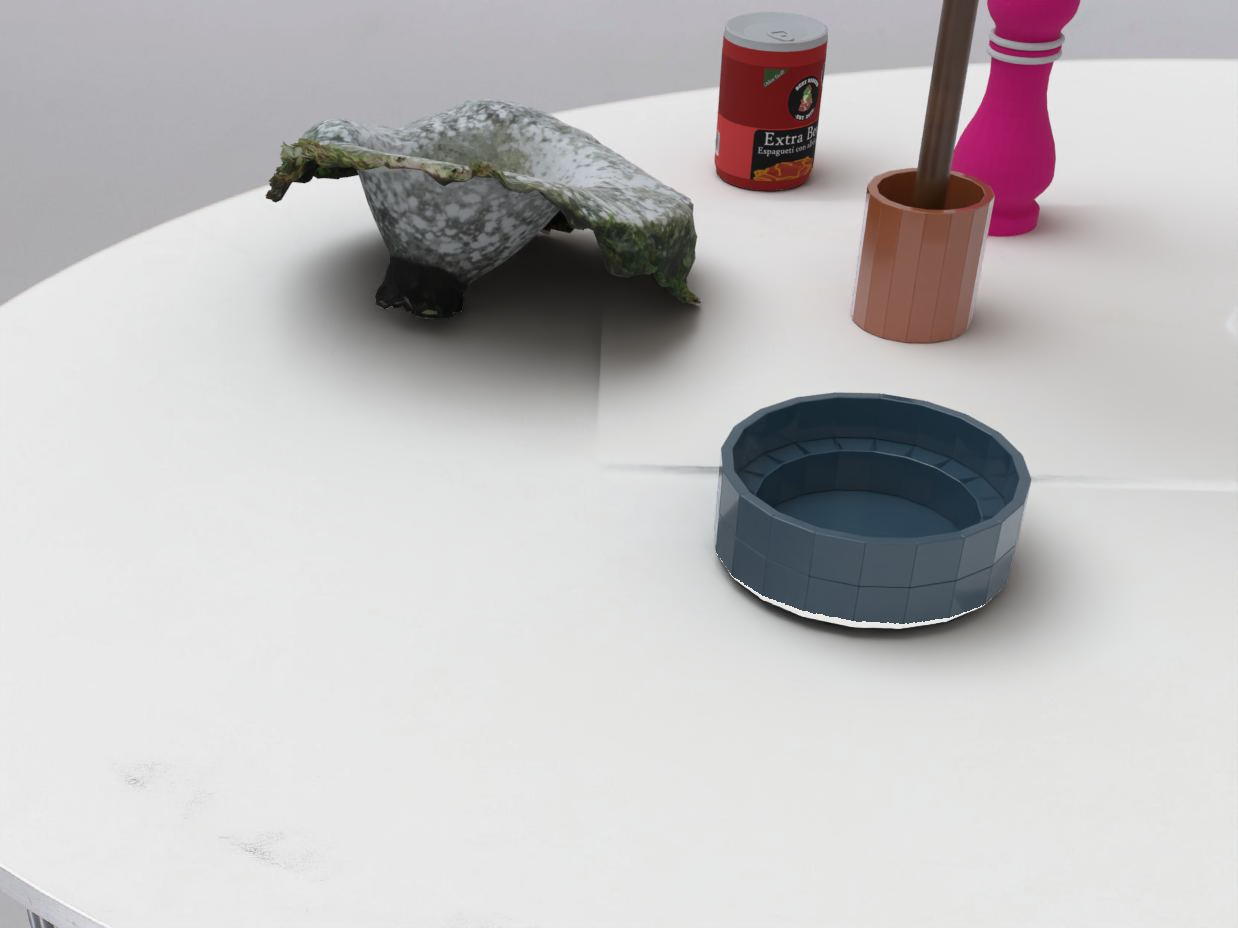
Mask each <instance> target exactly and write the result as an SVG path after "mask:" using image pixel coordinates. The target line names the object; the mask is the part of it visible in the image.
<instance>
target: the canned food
mask: <svg viewBox="0 0 1238 928" xmlns="http://www.w3.org/2000/svg"><path fill="white" fill-rule="evenodd" d="M828 31H829V28H828V26H827V25H826V24H825V23H823V22H822V21H821V20H818V19H816V18H813V17H811V16H808V15H803V14H798V13H792V12H783V11H759V12H750V13H749V12H748V13H745V14H741V15H738V16H735V17H732V18H730V19H729V20H727V22H726V23H725V24H724V30H723V36H722V48H721V60H720V61H721V62H720V73H719V75H720V76H719V91H718V105H717V117H716V119H717V121H716V133H715V134H716V135H715V145H714V146H715V148H714V166H715V170H716V173H717V176H719V178H720V179H721V180H722V181H724V182H726V183H727V184H729V185H731V186H735V187H738V188H741V189H744V190H745V189H746V190H751V191H763V192H777V191H785V190H790V189H794V188H797V187H800V186H801V185H803V184H804V183H806V182H807V181H808V180H809V178H810V177H811V174H812V171H813V169H814V165H815V156H816V148H817V139H818V132H819V131H818V130H819V123H820V122H819V121H820V114H821V105H822V95H823V86H824V79H825V72H826V71H825V69H826V61H827V50H828V42H829V35H828V33H829V32H828Z"/></svg>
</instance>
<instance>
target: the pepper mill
mask: <svg viewBox="0 0 1238 928" xmlns="http://www.w3.org/2000/svg"><path fill="white" fill-rule="evenodd" d="M986 5H987V11H988V13H989V16H990V18H991V19H992V21H993V23H994V27H993V28H991V29H990V31H989V32H988V38H989V41H988V44H987V45H986V48H985V50H986V53H987V54H988V55H989V56H990V68H989V76H988V80H987V84H986V87H985V88H986V89H985V91H984V95H983V97H982V100H981V102H980V105H979V106H978V108H977V110H976V112H975V113H974V115H973V116H972V118H971V119H970V121H969V122H968V123H967V125H966V127H965V128H964V130H963V131H962V133H961V134H960V136H959V138H958V141H957V143H956V144H955V148H954V154H953V160H952V166H951V171H956V172H960V173H963V174H966V175H969V176H972V177H975V178H977V179H980V180H981V181H983V182H984V183H986V184H987V185H989V186H990V187H991V188H992V191H993V193H994V195H995V198H994V203H993V209H992V214H991V220H990V225H989V231H988V236H987V237H998V238H999V237H1002V238H1004V237H1015V236H1022V235H1026V234H1028V233H1030V232H1032V231H1033V230H1035V229H1036V227H1037V225H1038V221H1039V217H1040V216H1039V215H1040V211H1041V207H1040V204H1039V203H1038V202H1037V200H1036V199H1037V198H1038V197H1039V196H1040V195H1041V194H1043V193H1045V191H1046V190H1047V189H1048V188H1049V187H1050V186H1051V184H1052V182H1053V180H1054V178H1055V171H1056V169H1055V168H1056V164H1057V163H1056V161H1057V155H1056V154H1057V153H1056V143H1055V138H1054V134H1053V129H1052V126H1051V120H1050V114H1049V109H1048V89H1049V82H1050V76H1051V73H1052V70H1053V66H1054V63H1055V61H1057V60H1060V58H1062V56H1063V49H1062V47H1063V44H1064V43H1065V41H1066V37H1065V34H1063V32H1062V30H1063V29H1064V27H1066V26H1067V25H1068V24H1069V23H1070V22H1071V21H1072V20H1073V19H1074V17H1075V16H1076V15H1077V12H1078V10H1079V7H1080V5H1081V0H986Z"/></svg>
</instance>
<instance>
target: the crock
mask: <svg viewBox="0 0 1238 928" xmlns="http://www.w3.org/2000/svg"><path fill="white" fill-rule="evenodd" d="M917 168H918V167H907V168H899V169H893V170H888V171H885V172H883V173H881V174H878V175H875V176H874V177H872V179H871V180H870V181H869V182H868V184H867V186H866V194H865V200H864V206H863V207H864V209H863V214H862V215H863V216H862V223H861V229H860V237H859V238H860V239H859V244H858V245H859V246H858V254H857V258H856V259H857V260H856V266H855V267H856V268H855V273H854V274H855V275H854V283H853V289H852V290H853V291H852V297H851V304H850V314H851V315H850V317H851V319H852V322H853V323H854V324H855V325H856V326H857V327H858V328H860V329H861V330H862V331H864V332H866V333H867V334H870V335H871V336H874V337H877V338H880V339H883V340H887V341H892V342H897V343H902V344H914V345H915V344H917V345H923V344H925V345H929V344H937V343H944V342H948V341H952V340H955V339H956V338H959V337H961V336H963V335H964V334H965V333H967V331H968V330H969V328H970V326H971V325H972V322H973V317H974V311H975V306H976V300H977V295H978V290H979V284H980V278H981V274H982V268H983V263H984V257H985V252H986V246H987V241H988V237H989V236H988V231H989V225H990V220H991V214H992V209H993V203H994V198H995V195H994V193H993V191H992V188H991V187H990V186H989V185H987V184H986V183H984V182H983V181H981V180H980V179H977V178H975V177H972V176H969V175H966V174H963V173H960V172H956V171H951V172H950V178H949V184H948V190H947V196H946V202H945V208H944V210H926V209H920V208H914V207H912V200H913V194H914V187H915V181H916V174H917Z"/></svg>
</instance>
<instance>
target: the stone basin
mask: <svg viewBox="0 0 1238 928" xmlns="http://www.w3.org/2000/svg"><path fill="white" fill-rule="evenodd" d="M281 144H282V145H280V148H281V152H280V154H279V156H280V157H279V159H280V161H281V164H280V166H276V169H275V172H273V175H272V176H271V178H270V179H269V180H268V184H269V185H268V186H270V187H271V189H269V190H267V192H266V194H264V195H265V199H266V200H271V202H273V203H278V202H281V201H282V200H283V198H284V197H285V195H286V194H287V192H288V190H289V189H290V187H291V185H292V184H293V183H297V184H307V183H310V182H311V181H312V180H313V178H315V179H317V180H321V179H328V180H340V179H344V178H345V179H346V178H351V177H357V176H358V178H359V180H360V183H361V186H362V190H363V192H364V196H365V199H366V202H367V204H368V205H367V206H368V207H369V210H370V213H371V215H372V217H373V219H374V220H373V221H374V222H375V225H376V227H377V229H378V231H379V233H380V235H381V238H382V240H383V242H384V245H385V247H386V250H387V252H388V256H389V260H388V266H387V267H386V270H385V274H384V278H383V280H382V282H381V283H380V285H379V286H378V287H377V289H376V290H375V293H374V301H375V305H376V306H377V307H379V308H380V309H382V310H389V309H390V308H391V307H392V308H393V309H397V308H403V309H404V311H405V313H411V314H412V316H414V317H416V318H420V319H423V320H446V319H450V318H452V317H453V316H454V314H455V313H462V312H463V310H464V306H465V294H466V292H467V291H468V289H469V287H470V285H471V284H472V283H473V282H474V281H476V280H478V279H479V278H481V277H483V276H485V275H486V274H488V273H489V272H491V271H492V270H494V269H496V268H497V267H499V266H500V265H503V263H505V262H506V261H507V260H509V259H510V258H512V257H513V256H514V255H516V254H517V253H518V252H520V251H521V250H522V249H523V248H524V247H526V246H527V245H528V244H529V243H530V242H531V241H532V240H533V239H534V238H535V237H536V236H537V235H538V234H539V233H541V234H544V235H547V236H549V235H551V231H558V232H562V233H566V234H571V233H572V232H574V231H575V230H577V231H580V230H582V231H584V230H587V229H588V230H590V231H592V232H593V236H594V238H595V241H596V244H597V246H598V249H599V250H600V253H601V256H602V261H603V264H604V267H605V269H606V271H607V273H608V274H610V275H611V276H616V277H621V278H630V277H635V276H639V275H648V276H649V275H651V274H652V275H653V276H654V279H655V281H656V282H657V284H658V285H659V286H661V287H662V288H666V289H667V291H668V293H669V295H672V296H674V297H675V298H676V299H678V300H679V301H680V302H682V303H683V304H690V305H692V304H694V305H701V304H702V303H703V302H702V301H701V298H699V296H697V295H695V294H694V293H693V292H692V291H690V289H689V287H688V280H687V279H688V276H689V274H690V272H691V269H692V268H693V265H694V263H695V261H696V257H697V256H696V246H697V241H698V235H697V231H696V227H695V226H696V225H695V219H694V203H693V202H692V200H691V198H689V196H686V195H685V194H684V193H681V192H679V191H677V190H676V189H675V188H673V187H670V186H668V185H665V184H664V183H663V182H662V181H661V180H660V179H657V178H656V177H654V176H653V175H651V174H650V173H648V172H646V171H645V170H644V169H643V168H641V167H639V166H638V165H636V164H635V163H633V162H631V161H630V160H629V159H627V158H625V157H624V156H623V155H621V154H620V153H618V152H615V151H614V150H613V149H612V148H610V147H608V146H607V145H605V144H603V143H601V142H600V141H599V140H598V139H597V138H596V137H595V136H594V135H593V134H592V133H589V132H588V131H585V130H583V129H581V128H578V127H575V126H572V125H571V124H568V123H565V122H563V121H562V120H560V119H558V118H557V117H556V116H554V115H552V114H551V113H549V112H547V111H545V110H542V109H539V108H536V107H534V106H530V105H524V104H520V103H519V102H517V101H513V100H510V99H491V98H490V99H489V98H484V99H476V100H475V99H474V100H473V99H472V100H464V101H463V102H461V103H458V104H456V105H455V106H454V107H453V108H450V109H447V110H444V111H440V112H437V113H433V114H431V115H428V116H424V117H421V118H419V119H416V120H414V121H410V122H409V123H408V124H405V125H403V126H389V125H384V124H378V125H377V124H376V125H374V124H363V123H360V122H357V121H356V122H355V121H352V120H350V119H346V118H340V117H339V118H338V117H337V118H330V119H328V120H321V121H320V122H319V121H318V122H317V123H315V124H313V126H311V127H310V128H309V129H308V130H306V131H304V133H303V135H302V136H301V137H299V138H298V139H297V142H293V143H290V145H288V144H287V143H286V142H285V141H284V140H282V142H281Z"/></svg>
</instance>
